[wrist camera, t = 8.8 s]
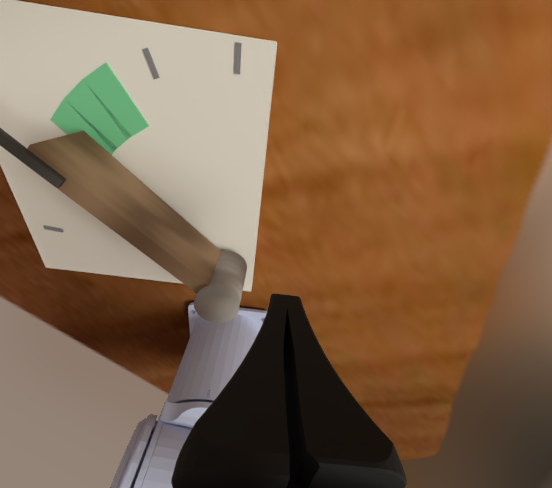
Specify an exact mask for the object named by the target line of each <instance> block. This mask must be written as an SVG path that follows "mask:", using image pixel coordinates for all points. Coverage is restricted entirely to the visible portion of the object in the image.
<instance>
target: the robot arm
mask: <svg viewBox="0 0 552 488" xmlns="http://www.w3.org/2000/svg"><path fill="white" fill-rule="evenodd" d="M193 310H194V311H193ZM188 316H189V329H190V339H189V341H188V344H187V347H186V350H185V352H184V355H183V358H182V360H181V363H180V366H179V368H178V371H177V374H176V377H175V379H174V382H173V385H172V387H171V390H170V393H169V396H168V398H167V401H166V402H165V404H164V406H163V409H162V412H161V414H160V417H159V419H158V421H156V418H157V415H153V414H150V415H149V416H148V417H147V418H145V419H144V420H142V421H141V422H139V423H138V425H137V427H136V429H135V431H134V433H133V436H132V438H131V440H130V442H129V444H128V446H127V449H126V451H125V453H124V456H123V458H122V460H121V463H120V465H119V467H118V470H117V472H116V474H115V477H114V479H113V482H112V484H111V487H110V488H404V487H405V486H406V477H405V473H404V470H403V467H402V464H401V461H400V459H399V456H398V454H397V451H396V449H395V447H394V444H393V443H392V442H391V441H390V439H389V438H388V437H387V436H386V435H385V434H384V433H383V432H382V431H381V430H380V429H379V427H378V426H377V425H376V424H375V423H374V422H373V421H372V419H371V418H370V417H369V416H368V415H367V413H366V412H365V411H364V410H363V409H362V407H361V406H360V405H359V404H358V402H357V401H356V400H355V398H354V397H353V396H352V394H351V393H350V392H349V390H348V389H347V388H346V386H345V385H344V384H343V382H342V381H341V379H340V378H339V376H338V375H337V373H336V372H335V370H334V369H333V367H332V365H331V364H330V362H329V360H328V359H327V357H326V355H325V354H324V352H323V350H322V348H321V346H320V344H319V342H318V340H317V338H316V336H315V334H314V332H313V330H312V328H311V326H310V323H309V321H308V319H307V316H306V314H305V311H304V308H303V305H302V302H301V299H300V298H299V297H298V296H289V295H281V294H272V295H271V298H270V304H269V308H268V311H265V310H257V309H248V308H239V311H238V314H237V316H236V317H235V318H234V319H233V320H231V321H229V322H225V323H214V322H210V321H207V320H205V319H203V318H202V317H200V316H199V315H198V314H197V312H196V311H195V309H194V302H191V303H190V304H189V305H188ZM263 318H265V319H263Z"/></svg>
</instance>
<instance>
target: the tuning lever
mask: <svg viewBox="0 0 552 488" xmlns="http://www.w3.org/2000/svg"><path fill="white" fill-rule="evenodd" d="M0 146H1V147H3V148H4V149H5V150H7V151H8V152H9V153H11V154H12V155H13V156H15V157H16V158H17V159H19V160H20V161H21V162H22V163H24V164H25V165H26V166H28V167H29V168H30V169H32V170H33V171H34V172H36V173H37V174H38V175H40V176H41V177H42V178H44V179H45V180H46V181H48V182H49V183H50V184H52V185H53V186H54V187H56V188H57V189H58V190H60V191H61V192H62V193H64V194H65V195H66V196H68V197H69V198H70V199H72V200H73V201H74V202H76V203H77V204H78V205H80V206H81V207H82V208H84V209H85V210H86V211H88V212H89V213H90V214H92V215H93V216H94V217H96V218H97V219H98V220H100V221H101V222H102V223H104V224H105V225H106V226H108V227H109V228H110V229H112V230H113V231H114V232H116V233H117V234H118V235H120V236H121V237H122V238H124V239H125V240H126V241H128V242H129V243H130V244H132V245H133V246H134V247H136V248H137V249H138V250H140V251H141V252H142V253H144V254H145V255H146V256H148V257H149V258H150V259H152V260H153V261H154V262H156V263H157V264H158V265H160V266H161V267H162V268H164V269H165V270H166V271H168V272H169V273H170V274H172V275H173V276H174V277H175V278H177V279H178V280H179V281H181V282H182V283H183V284H185V285H186V286H187V287H189V288H190V289H191V290H193V291H194V292H195V293H197V296H196V298H195V301H194V309H195V311H196V312H197V314H198V315H199V316H200V317H202V318H203V319H205V320H207V321H210V322H214V323H225V322H229V321H231V320H233V319H234V318H235V317H236V316H237V314H238V311H239V306H240V301H241V296H242V291H243V286H244V281H245V276H246V271H247V264H246V261H245V260H244V258H243V257H242V256H241V255H239V254H237V253H235V252H232V251H220V250H219V249H218V248H217V247H216V246H215V245H214V244H213V243H211V242H210V241H209V240H208V239H207V238H206V237H205V236H203V235H202V234H201V233H200V232H199V231H198V230H197V229H195V228H194V227H193V226H192V225H191V224H190V223H189V222H187V221H186V220H185V219H184V218H183V217H182V216H181V215H179V214H178V213H177V212H176V211H175V210H174V209H173V208H171V207H170V206H169V205H168V204H167V203H166V202H165V201H163V200H162V199H161V198H160V197H159V196H158V195H157V194H155V193H154V192H153V191H152V190H151V189H150V188H149V187H147V186H146V185H145V184H144V183H143V182H142V181H141V180H139V179H138V178H137V177H136V176H135V175H134V174H133V173H131V172H130V171H129V170H128V169H127V168H126V167H125V166H123V165H122V164H121V163H120V162H119V161H118V160H117V159H116V158H114V157H113V156H112V155H111V154H110V153H109V152H108V151H106V150H105V149H104V148H103V147H102V146H101V145H100V144H98V143H97V142H96V141H95V140H94V139H93V138H92V137H90V136H89V135H88V134H87V133H86V132H85V131H80V132H76V133H72V134H68V135H65V136H61V137H57V138H53V139H49V140H45V141H41V142H38V143H34V144H30V145H29V147H28V148H26V147H24V146H23V145H22V144H21V143H19V142H18V141H17V140H15V139H14V138H13V137H12V136H10V135H9V134H8V133H6V132H5V131H4V130H3V129H1V128H0Z"/></svg>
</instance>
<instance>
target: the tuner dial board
mask: <svg viewBox="0 0 552 488" xmlns="http://www.w3.org/2000/svg"><path fill="white" fill-rule="evenodd" d="M276 51H277V42H276V41H269V40H263V39H257V38H250V37H244V36H238V35H231V34H225V33H219V32H212V31H206V30H200V29H193V28H187V27H181V26H174V25H168V24H162V23H155V22H149V21H143V20H136V19H130V18H124V17H117V16H111V15H105V14H98V13H92V12H86V11H80V10H73V9H67V8H61V7H54V6H48V5H42V4H35V3H29V2H23V1H16V0H0V128H1V129H3V130H4V131H5V132H6V133H8V134H9V135H10V136H12V137H13V138H14V139H15V140H17V141H18V142H19V143H21V144H22V145H23V146H24V147H26V148H28V147H29V145H30V144H34V143H38V142H41V141H45V140H49V139H53V138H57V137H61V136H65V135H68V134H72V133H76V132H80V131H85V132H86V133H87V134H88V135H89V136H90V137H92V138H93V139H94V140H95V141H96V142H97V143H98V144H100V145H101V146H102V147H103V148H104V149H105V150H106V151H108V152H109V153H110V154H111V155H112V156H113V157H114V158H116V159H117V160H118V161H119V162H120V163H121V164H122V165H123V166H125V167H126V168H127V169H128V170H129V171H130V172H131V173H133V174H134V175H135V176H136V177H137V178H138V179H139V180H141V181H142V182H143V183H144V184H145V185H146V186H147V187H149V188H150V189H151V190H152V191H153V192H154V193H155V194H157V195H158V196H159V197H160V198H161V199H162V200H163V201H165V202H166V203H167V204H168V205H169V206H170V207H171V208H173V209H174V210H175V211H176V212H177V213H178V214H179V215H181V216H182V217H183V218H184V219H185V220H186V221H187V222H189V223H190V224H191V225H192V226H193V227H194V228H195V229H197V230H198V231H199V232H200V233H201V234H202V235H203V236H205V237H206V238H207V239H208V240H209V241H210V242H211V243H213V244H214V245H215V246H216V247H217V248H218V249H219V250H220V251H232V252H235V253H237V254H239V255H241V256H242V257H243V258H244V260H245V261H246V264H247V271H246V276H245V281H244V286H243V291H250V292H251V289H252V282H253V272H254V263H255V253H256V244H257V234H258V224H259V215H260V205H261V196H262V186H263V176H264V167H265V157H266V147H267V138H268V128H269V119H270V109H271V99H272V90H273V80H274V71H275V61H276ZM0 165H1V167H2V170H3V172H4V174H5V177H6V179H7V181H8V183H9V186H10V188H11V190H12V192H13V195H14V197H15V199H16V201H17V204H18V206H19V208H20V210H21V213H22V215H23V217H24V219H25V222H26V224H27V226H28V228H29V231H30V233H31V235H32V238H33V240H34V242H35V244H36V247H37V249H38V251H39V253H40V256H41V258H42V260H43V262H44V265H45V267H46V268H54V269H63V270H71V271H80V272H88V273H97V274H105V275H114V276H122V277H131V278H139V279H148V280H156V281H165V282H173V283H182V282H181V281H179V280H178V279H177V278H175V277H174V276H173V275H172V274H170V273H169V272H168V271H166V270H165V269H164V268H162V267H161V266H160V265H158V264H157V263H156V262H154V261H153V260H152V259H150V258H149V257H148V256H146V255H145V254H144V253H142V252H141V251H140V250H138V249H137V248H136V247H134V246H133V245H132V244H130V243H129V242H128V241H126V240H125V239H124V238H122V237H121V236H120V235H118V234H117V233H116V232H114V231H113V230H112V229H110V228H109V227H108V226H106V225H105V224H104V223H102V222H101V221H100V220H98V219H97V218H96V217H94V216H93V215H92V214H90V213H89V212H88V211H86V210H85V209H84V208H82V207H81V206H80V205H78V204H77V203H76V202H74V201H73V200H72V199H70V198H69V197H68V196H66V195H65V194H64V193H62V192H61V191H60V190H58V189H57V188H56V187H54V186H53V185H52V184H50V183H49V182H48V181H46V180H45V179H44V178H42V177H41V176H40V175H38V174H37V173H36V172H34V171H33V170H32V169H30V168H29V167H28V166H26V165H25V164H24V163H22V162H21V161H20V160H19V159H17V158H16V157H15V156H13V155H12V154H11V153H9V152H8V151H7V150H5V149H4V148H3V147H1V146H0ZM182 284H183V283H182Z"/></svg>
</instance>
